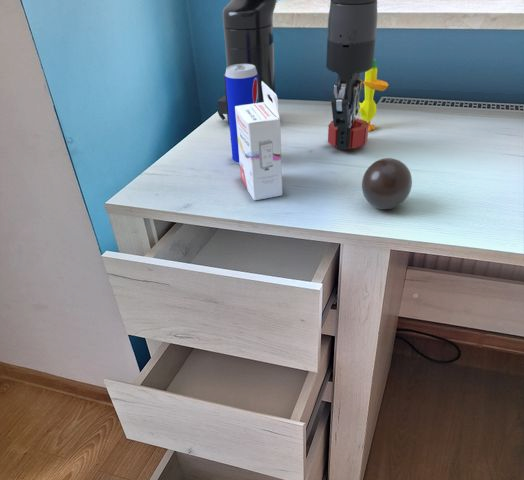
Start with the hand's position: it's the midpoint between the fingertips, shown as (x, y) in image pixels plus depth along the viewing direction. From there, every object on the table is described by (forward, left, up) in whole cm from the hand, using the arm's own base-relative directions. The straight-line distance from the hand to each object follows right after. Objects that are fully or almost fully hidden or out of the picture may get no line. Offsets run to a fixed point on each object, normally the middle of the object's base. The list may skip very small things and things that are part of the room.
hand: (344, 146), depth 93 cm
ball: (+10, -20, -1) cm, 23 cm away
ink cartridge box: (-10, -18, -1) cm, 21 cm away
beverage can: (-16, -8, -1) cm, 18 cm away
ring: (0, +3, 0) cm, 3 cm away
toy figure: (+2, +12, -1) cm, 12 cm away
